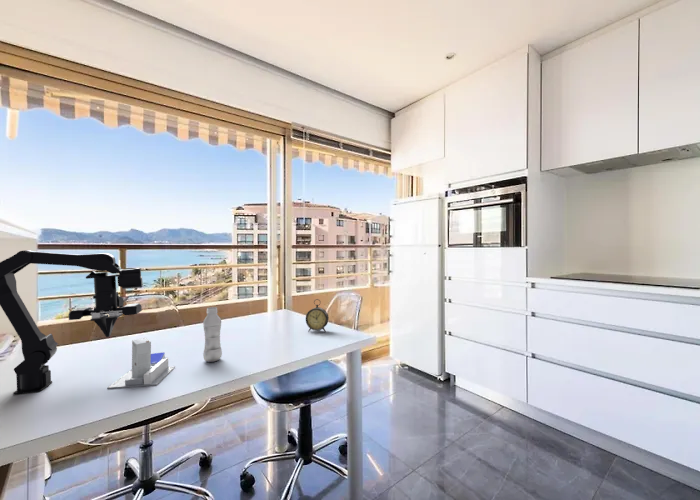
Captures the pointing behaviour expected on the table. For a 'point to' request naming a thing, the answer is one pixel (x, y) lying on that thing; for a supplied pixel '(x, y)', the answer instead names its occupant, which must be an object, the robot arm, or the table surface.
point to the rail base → (129, 375)
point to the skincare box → (141, 357)
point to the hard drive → (156, 358)
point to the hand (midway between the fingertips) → (108, 336)
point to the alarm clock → (317, 318)
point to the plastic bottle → (212, 335)
